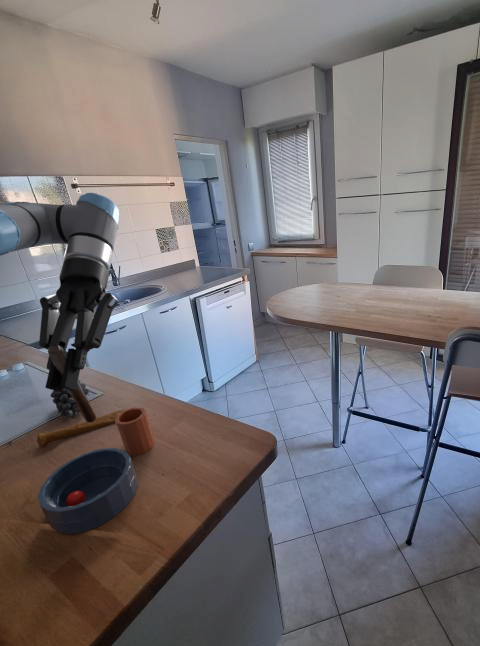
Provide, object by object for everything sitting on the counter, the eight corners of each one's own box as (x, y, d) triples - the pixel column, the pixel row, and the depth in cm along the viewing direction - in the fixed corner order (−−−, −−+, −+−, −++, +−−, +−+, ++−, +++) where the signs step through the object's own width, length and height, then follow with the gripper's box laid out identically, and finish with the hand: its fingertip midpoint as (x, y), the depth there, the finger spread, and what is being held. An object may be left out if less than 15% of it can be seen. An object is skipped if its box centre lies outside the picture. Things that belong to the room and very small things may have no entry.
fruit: (68, 392, 83) (74, 366, 95) (35, 411, 81) (45, 382, 93) (91, 415, 87) (94, 388, 100) (60, 433, 85) (67, 403, 98)
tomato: (65, 511, 60) (59, 499, 59) (77, 498, 63) (72, 486, 62) (79, 513, 60) (73, 501, 59) (91, 499, 62) (86, 487, 61)
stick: (84, 424, 61) (42, 349, 53) (91, 417, 63) (51, 343, 54) (93, 425, 61) (52, 350, 52) (99, 417, 62) (61, 343, 54)
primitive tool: (126, 410, 90) (122, 399, 88) (130, 419, 86) (127, 408, 84) (40, 443, 80) (34, 431, 78) (40, 456, 75) (34, 444, 74)
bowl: (30, 531, 58) (16, 506, 55) (91, 467, 71) (82, 445, 69) (103, 541, 55) (92, 515, 53) (153, 473, 68) (146, 450, 66)
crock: (120, 456, 73) (108, 423, 70) (137, 438, 79) (126, 406, 75) (144, 458, 72) (133, 425, 69) (160, 439, 78) (150, 407, 74)
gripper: (135, 274, 67) (118, 391, 58) (62, 279, 67) (34, 396, 58) (114, 252, 60) (91, 380, 51) (33, 258, 60) (-4, 386, 51)
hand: (61, 388), depth 55 cm, fingers closed on stick, 2 cm apart
